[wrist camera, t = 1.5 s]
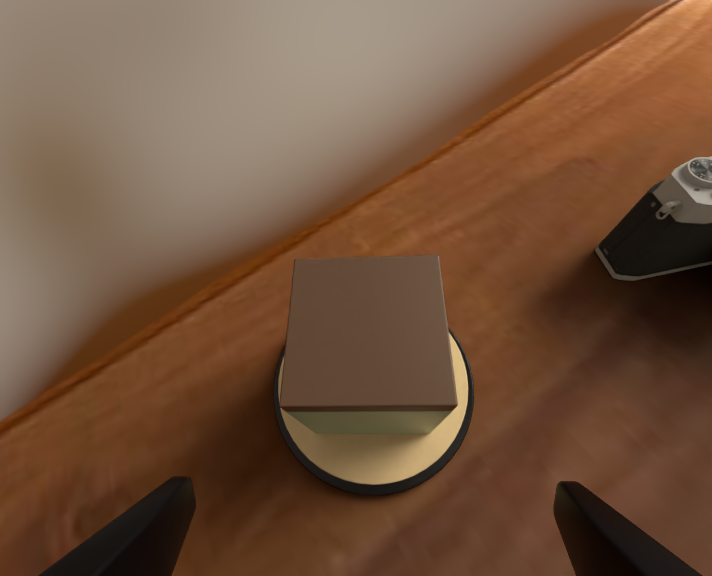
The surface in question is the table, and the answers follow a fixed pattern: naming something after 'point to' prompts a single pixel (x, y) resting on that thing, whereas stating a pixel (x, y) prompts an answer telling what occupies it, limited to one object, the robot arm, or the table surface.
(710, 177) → the camera
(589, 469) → the table surface
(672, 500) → the table surface
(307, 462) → the turntable
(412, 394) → the box
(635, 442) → the table surface
